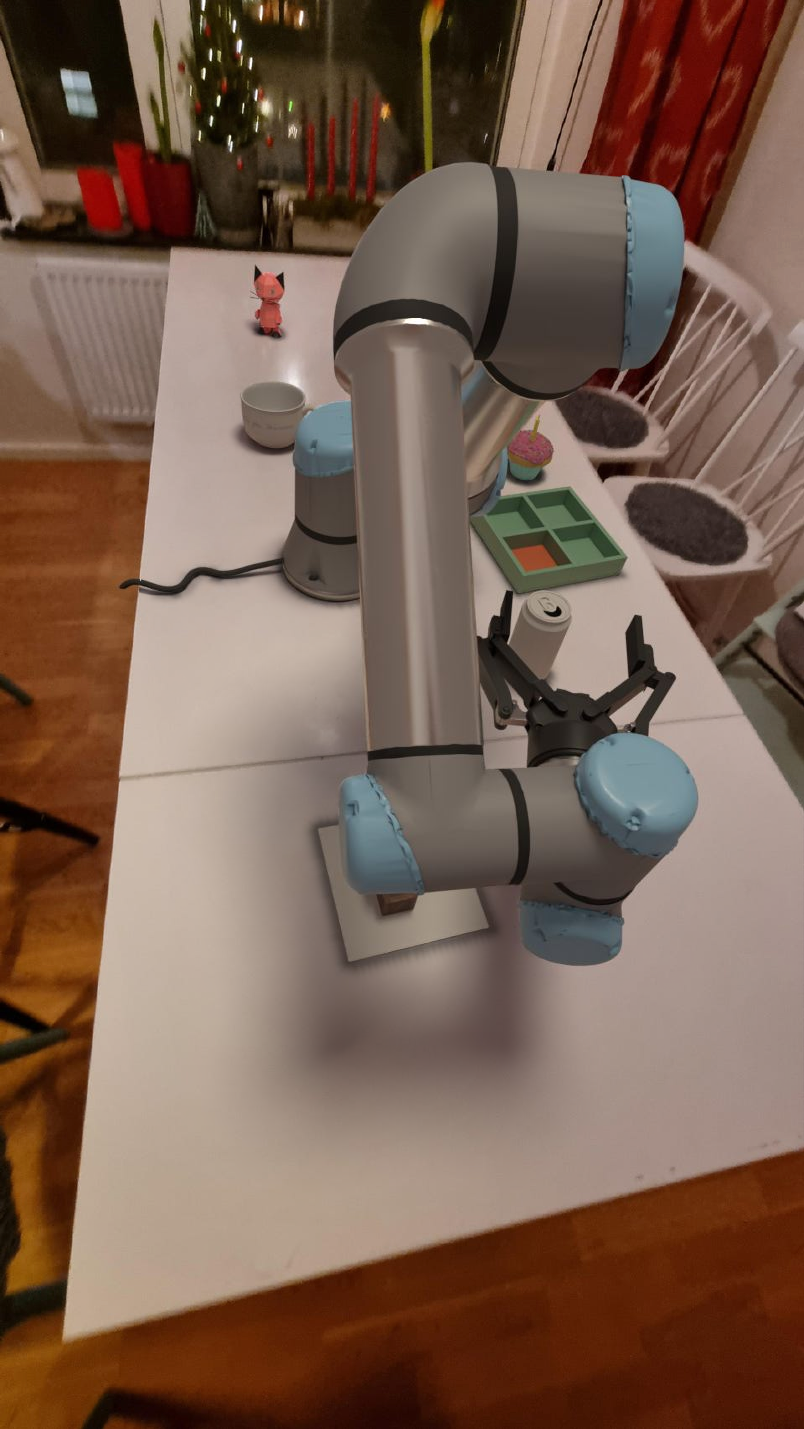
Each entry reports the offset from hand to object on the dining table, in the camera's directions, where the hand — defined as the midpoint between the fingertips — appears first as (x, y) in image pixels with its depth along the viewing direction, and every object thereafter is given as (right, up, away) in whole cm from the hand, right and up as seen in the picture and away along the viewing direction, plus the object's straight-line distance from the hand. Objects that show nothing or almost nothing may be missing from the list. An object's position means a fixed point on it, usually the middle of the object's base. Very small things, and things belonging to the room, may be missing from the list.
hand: (570, 611), depth 73 cm
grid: (+5, +16, +38) cm, 42 cm away
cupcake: (+4, +32, +50) cm, 60 cm away
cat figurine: (-45, +68, +71) cm, 108 cm away
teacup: (-39, +37, +48) cm, 72 cm away
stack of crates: (-18, -28, +1) cm, 34 cm away
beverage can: (-1, -5, +22) cm, 22 cm away
